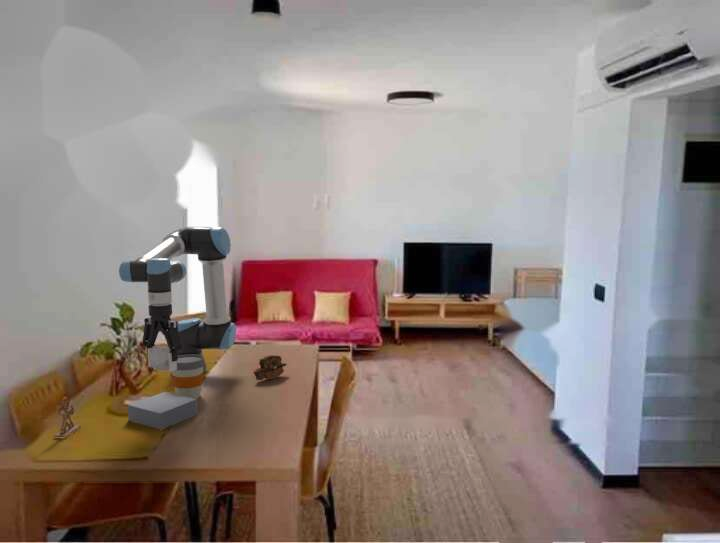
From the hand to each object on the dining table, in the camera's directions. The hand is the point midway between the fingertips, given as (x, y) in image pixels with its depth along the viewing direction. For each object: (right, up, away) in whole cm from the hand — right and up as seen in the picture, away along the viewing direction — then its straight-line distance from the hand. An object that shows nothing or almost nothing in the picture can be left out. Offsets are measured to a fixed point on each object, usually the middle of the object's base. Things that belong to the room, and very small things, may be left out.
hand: (162, 368), depth 197 cm
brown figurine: (-27, -19, -12) cm, 35 cm away
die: (0, -1, 0) cm, 0 cm away
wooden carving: (+30, -13, +46) cm, 57 cm away
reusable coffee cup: (+2, -15, +24) cm, 28 cm away
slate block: (0, -18, +2) cm, 18 cm away
